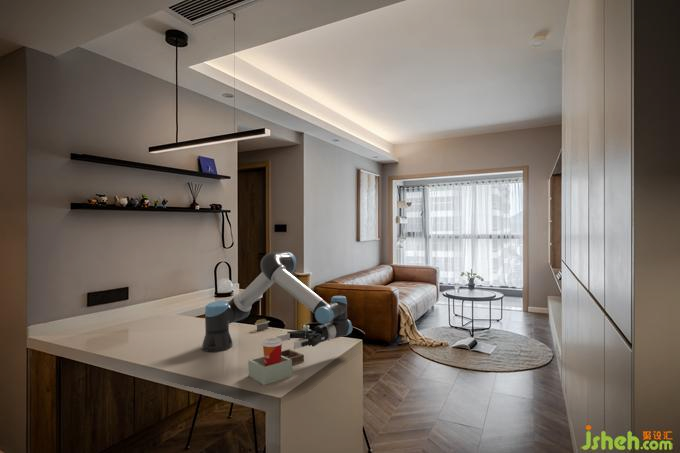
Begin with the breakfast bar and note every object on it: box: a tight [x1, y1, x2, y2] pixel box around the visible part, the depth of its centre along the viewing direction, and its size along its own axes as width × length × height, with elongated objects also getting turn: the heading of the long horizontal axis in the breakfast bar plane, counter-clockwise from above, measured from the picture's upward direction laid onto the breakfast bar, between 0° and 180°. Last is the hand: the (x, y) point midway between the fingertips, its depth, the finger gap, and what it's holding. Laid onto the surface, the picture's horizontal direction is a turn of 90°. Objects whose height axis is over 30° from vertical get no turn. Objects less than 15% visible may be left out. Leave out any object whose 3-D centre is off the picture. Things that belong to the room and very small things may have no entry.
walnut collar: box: [281, 348, 305, 366], centre depth 167 cm, size 12×12×3 cm
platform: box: [254, 318, 271, 332], centre depth 225 cm, size 12×18×7 cm, turn 136°
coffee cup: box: [261, 337, 283, 367], centre depth 149 cm, size 8×8×15 cm
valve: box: [302, 324, 310, 337], centre depth 204 cm, size 7×7×12 cm
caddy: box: [247, 355, 293, 386], centre depth 151 cm, size 13×13×6 cm
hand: (285, 342), depth 156 cm, fingers open, 13 cm apart
